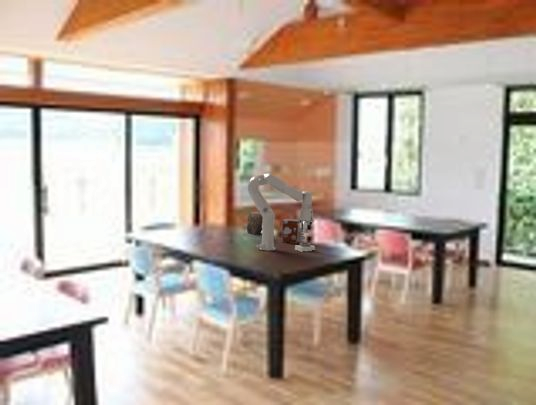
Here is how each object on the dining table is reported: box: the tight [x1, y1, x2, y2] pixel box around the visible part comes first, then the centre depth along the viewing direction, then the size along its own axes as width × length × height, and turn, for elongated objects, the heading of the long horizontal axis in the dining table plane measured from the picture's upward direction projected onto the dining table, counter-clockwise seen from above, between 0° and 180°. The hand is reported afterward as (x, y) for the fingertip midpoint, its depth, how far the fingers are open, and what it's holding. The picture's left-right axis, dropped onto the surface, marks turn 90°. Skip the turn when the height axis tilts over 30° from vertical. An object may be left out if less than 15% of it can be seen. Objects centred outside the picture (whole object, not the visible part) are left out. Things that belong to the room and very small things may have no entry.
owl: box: [246, 211, 263, 236], centre depth 527 cm, size 13×13×20 cm
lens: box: [302, 221, 310, 234], centre depth 450 cm, size 5×5×9 cm
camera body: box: [294, 241, 316, 253], centre depth 451 cm, size 13×9×6 cm
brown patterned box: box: [281, 218, 306, 244], centre depth 485 cm, size 9×19×20 cm, turn 78°
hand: (305, 229), depth 450 cm, fingers closed on lens, 5 cm apart
